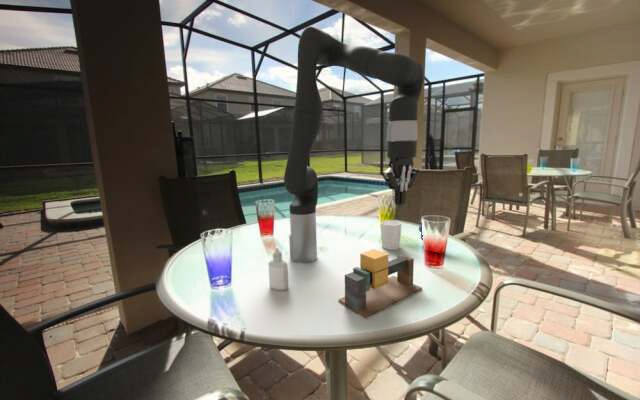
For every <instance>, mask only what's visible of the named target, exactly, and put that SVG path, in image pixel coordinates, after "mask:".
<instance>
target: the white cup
mask: <svg viewBox="0 0 640 400" xmlns="http://www.w3.org/2000/svg"><path fill="white" fill-rule="evenodd" d="M402 223H403V222H401V221H398V220H395V219H394V220H392V219H388V220H383V221H380V237H381V248H383V249H384V250H390V251H395V250H396V251H397V250H398V249H400V243H401V234H402Z"/></svg>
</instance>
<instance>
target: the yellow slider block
mask: <svg viewBox="0 0 640 400" xmlns="http://www.w3.org/2000/svg"><path fill="white" fill-rule="evenodd" d="M359 258H360V261H359V262H360V263H359V264H360V265H359V266H360V267H359V268H360V269H362V270H367V271H370V272H372V283H370V287H371V288H373V289H377V288H379V287H381V286H384V285H386V284H388V278H389V275H388V262H389V253H386V252H383V251H381V250H377V249H370V250H368V251H363V252H360V257H359Z"/></svg>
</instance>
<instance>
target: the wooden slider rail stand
mask: <svg viewBox="0 0 640 400" xmlns="http://www.w3.org/2000/svg"><path fill="white" fill-rule="evenodd" d="M414 261H415V258H413V257H411V256H407V255H404V254H400V255H398V256H397V258H394V259H391V260H388V284H386V285H384V286H381V287H379V288H377V289H373V288H371V287H370V283H372V272H370V271H367V270H362V269H360V267H358V266H356V267H353V268H352V270H353V271H352V272H349V273H347V274H345V275H344V296H343V297H340V298H339V299H338V303H340V304H342V305H343V306H344V307H346V308H348V309H349V310H351V311H352V312H354V313H355V314H357V315H360V316H361V317H363V318H364V319H369V318H370V317H372V316H374V315H377V314H378V313H380V312H383V310H386V309H388V308H389V307H391V306H394V305H395V304H397V303H399V302H401V301H404V300H405V299H407V298H410V297H411V296H413V295H414V294H416V293H419V292H420V291H422V290H423V287H421V286H419V285H417V284H414ZM394 273H396V274H397V275H396V276H395V275H393V274H394ZM391 275H392V276H391Z"/></svg>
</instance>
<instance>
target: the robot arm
mask: <svg viewBox="0 0 640 400" xmlns="http://www.w3.org/2000/svg"><path fill="white" fill-rule="evenodd" d="M297 45H298V47H297V74H296V75H297V77H296V78H297V79H296V91H295V100H294V107H293V115H292V116H293V117H292V124H291V125H292V126H291V134H290V143H289V144H290V145H289V152H288V157H287V162H286V165H285V171H284V175H283V176H284V177H283V183H284V187H285V189H286V191H287V193H289V194H291V195H294V197H293V200H292V202H291V203H290V205H289V224H290V225H289V227H290V233H289V234H288V236H289V237H288V238H289V239H288V242H289V260H290V261H293V262H296V263H310V262H313V261H315V260H317V259H318V246H317V239H318V238H317V214H316V213H317V211H316V209H317V204H318V201H319V200H318V199H319V195H318V194H319V182H318V181H319V180H318V175H317V173H316V171H315V169H314V168H313V167H311V166H308V164H309V163H308V162H309V156H310V153H311V150H312V147H313V146H314V144H315V142H316V140H317V137H318V135H319V133H320V129H321V125H322V118H323V103H322V98H321V94H320V91H319V88H318V84H317V68H318V67H317V66H318V65H319V66H334V67H340V68H345V69H346V70H349V71H351V72H354V73H356V74H358V75H361V76H363V77H364V76H365V77H367V78H370V79H374V80H378V81H380V82H384V83H386V84H389V85H391V86H394V87H397V89H396V96H395V97H394V98H392V99H391V101H390V102H389V105H388V106H389V107H388V126H387V133H386V134H387V136H386V137H387V142H386V144H387V145H386V156H387V158H388V159H389V162H388V164H387V166H388V168H387V169H386V170H384V171H383V170H382V172H381V175H382V178H383V179H384V181H385V183H386V185H387V187H388V189H389V190H392V191H394V204H395V205H396V206H403V205H406V196H407V195H406V193H407V191H408V189H412V187H413V184H414V182H415V181H416V179H417V176H418V174H419V173H420V170H419V168H415V167H414V165H415V163H414V159H415V158H416V157H417V154H418V153H417V151H418V103H419V100H420V97H421V92H422V87H423V84H424V67H423V66H422V63H420V61H418V60H417V59H414V58H412V57H411V56H410V57H409V56H408V55H404V54H401V53H397V52H389V51H384V50H381V49H377V48H373V47H370V46H364V45H351V44H348V43H347V44H346V43H344V42H342V41H340V40H338V39H337V38H335V37H333V36H332V35H331V34H330V33H328V32H326V31H324V30H321V29H319V28H317V27H315V26H307V27H305V28H304V29H303V31H302V32H301V34H300V37H299V41H298V44H297Z"/></svg>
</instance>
